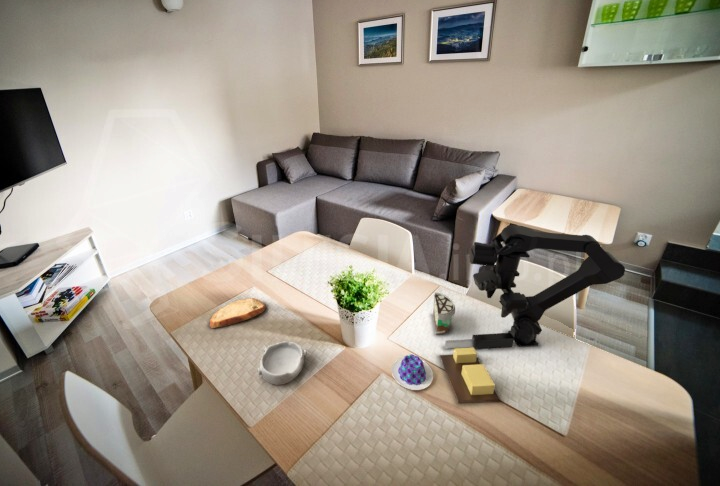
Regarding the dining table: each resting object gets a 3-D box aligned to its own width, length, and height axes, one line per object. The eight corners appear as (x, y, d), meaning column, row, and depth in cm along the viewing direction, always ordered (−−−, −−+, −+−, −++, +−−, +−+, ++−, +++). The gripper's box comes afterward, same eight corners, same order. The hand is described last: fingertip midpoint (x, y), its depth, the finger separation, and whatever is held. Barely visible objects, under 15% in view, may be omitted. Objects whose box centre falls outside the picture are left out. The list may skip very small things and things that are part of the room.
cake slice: (455, 339, 109) (458, 316, 105) (436, 338, 110) (438, 314, 106) (450, 314, 120) (452, 292, 116) (432, 313, 121) (434, 291, 117)
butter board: (474, 355, 103) (474, 353, 102) (499, 401, 89) (499, 398, 88) (439, 357, 103) (439, 355, 103) (458, 403, 89) (458, 400, 89)
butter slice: (472, 355, 101) (473, 347, 100) (475, 362, 99) (477, 353, 98) (453, 356, 102) (454, 348, 100) (456, 363, 99) (457, 355, 98)
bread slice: (205, 326, 124) (203, 318, 123) (233, 297, 139) (231, 290, 138) (245, 337, 118) (243, 329, 116) (269, 305, 133) (268, 298, 131)
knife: (508, 341, 106) (510, 332, 105) (512, 347, 104) (514, 338, 103) (443, 345, 107) (444, 336, 106) (446, 351, 105) (447, 342, 103)
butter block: (481, 372, 96) (483, 364, 94) (493, 394, 89) (495, 385, 88) (461, 373, 96) (462, 365, 95) (471, 395, 90) (472, 386, 88)
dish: (310, 355, 108) (309, 344, 106) (294, 392, 96) (292, 380, 94) (271, 346, 112) (269, 336, 110) (251, 380, 101) (248, 369, 99)
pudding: (383, 366, 101) (384, 354, 99) (415, 352, 105) (416, 340, 103) (408, 398, 91) (408, 385, 89) (441, 381, 95) (443, 368, 93)
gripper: (466, 250, 106) (459, 289, 113) (494, 286, 89) (483, 329, 96) (501, 250, 106) (491, 288, 113) (535, 285, 89) (521, 328, 96)
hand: (495, 307), depth 104 cm, fingers open, 9 cm apart
